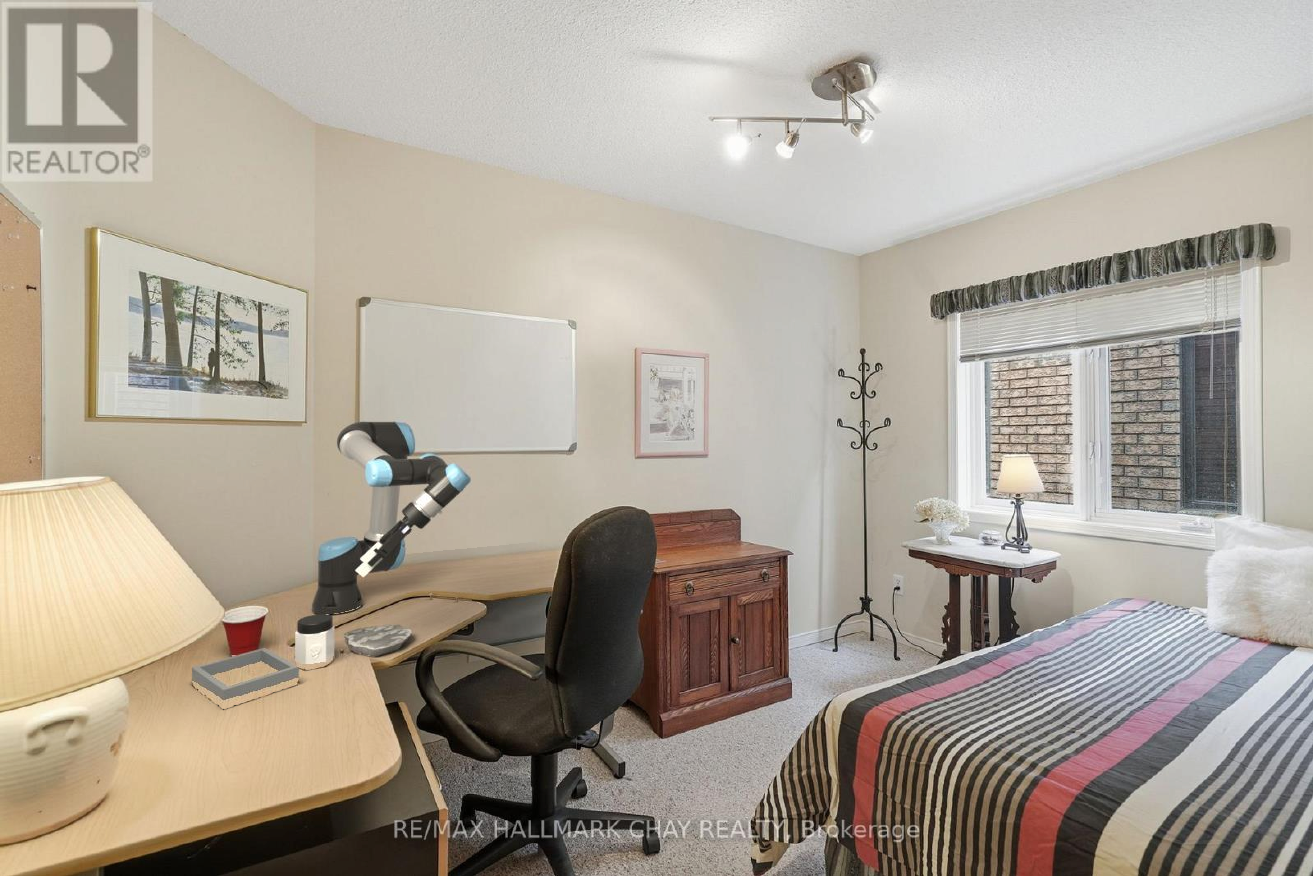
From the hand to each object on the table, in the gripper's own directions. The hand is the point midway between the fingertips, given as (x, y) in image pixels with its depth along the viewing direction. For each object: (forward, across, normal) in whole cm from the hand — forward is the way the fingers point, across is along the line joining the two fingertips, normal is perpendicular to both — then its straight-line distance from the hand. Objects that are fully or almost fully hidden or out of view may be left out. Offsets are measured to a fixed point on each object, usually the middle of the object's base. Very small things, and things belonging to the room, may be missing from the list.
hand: (361, 567), depth 158 cm
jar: (+26, +1, -10) cm, 27 cm away
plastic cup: (+38, +13, +3) cm, 41 cm away
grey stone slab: (+15, +10, -21) cm, 28 cm away
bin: (+35, -8, 0) cm, 36 cm away
